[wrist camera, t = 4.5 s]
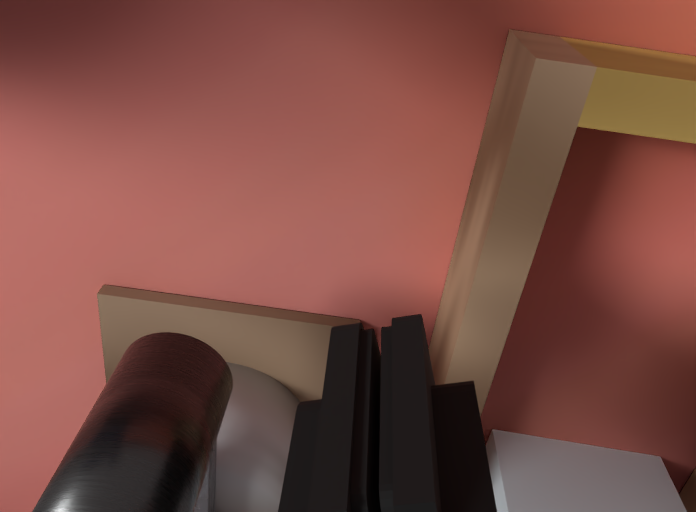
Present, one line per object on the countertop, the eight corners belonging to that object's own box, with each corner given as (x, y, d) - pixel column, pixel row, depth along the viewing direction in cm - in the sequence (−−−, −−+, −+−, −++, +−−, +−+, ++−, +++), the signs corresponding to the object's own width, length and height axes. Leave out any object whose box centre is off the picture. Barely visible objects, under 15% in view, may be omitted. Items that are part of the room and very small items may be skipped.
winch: (325, 521, 24) (313, 641, 20) (123, 494, 24) (72, 610, 20) (360, 320, 19) (352, 429, 15) (103, 284, 19) (29, 385, 15)
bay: (656, 580, 25) (687, 660, 22) (379, 544, 24) (378, 620, 22) (980, 97, 14) (1109, 141, 12) (509, 29, 14) (535, 58, 12)
